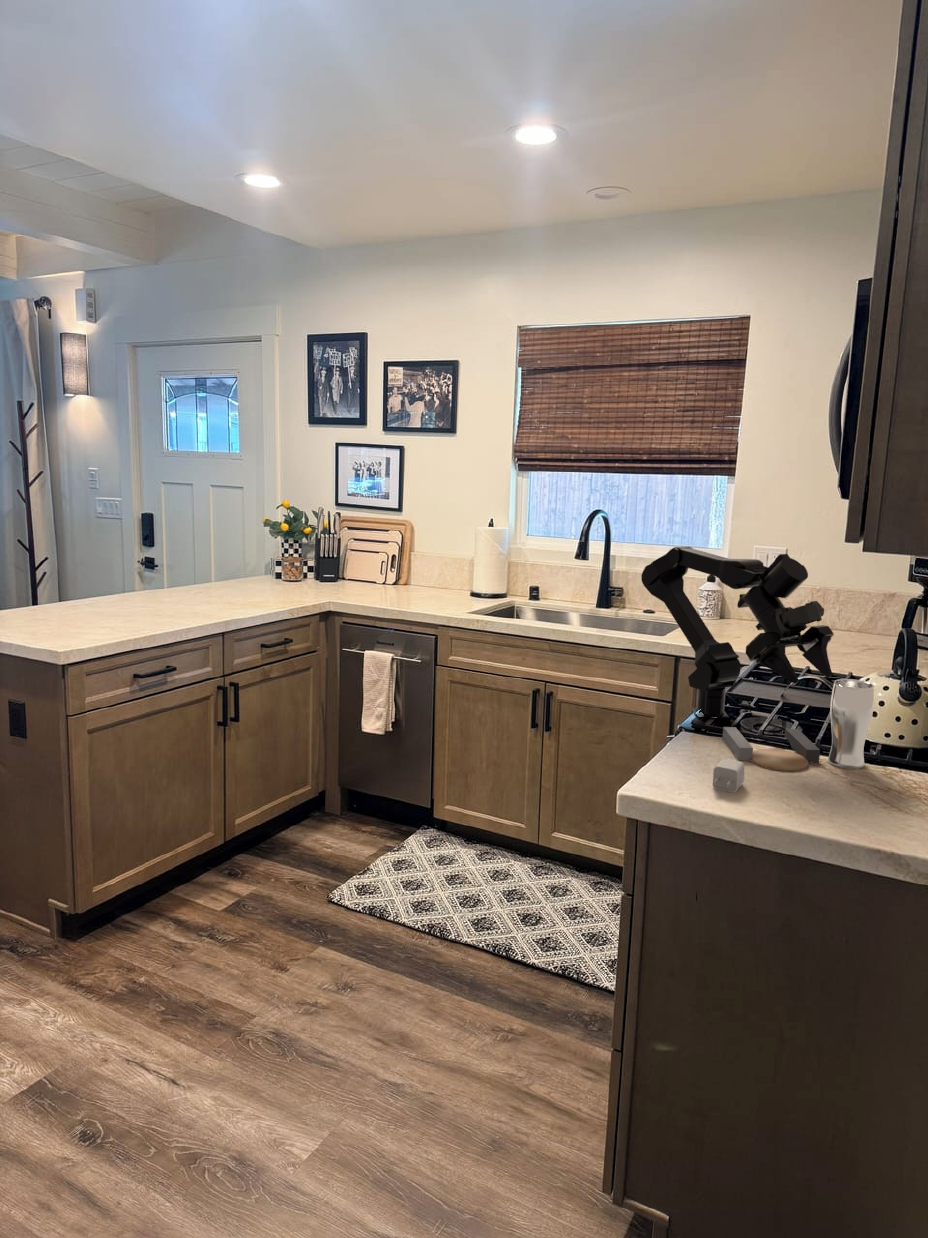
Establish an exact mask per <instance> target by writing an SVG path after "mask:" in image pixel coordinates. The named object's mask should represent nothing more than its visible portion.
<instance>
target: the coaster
mask: <svg viewBox="0 0 928 1238" xmlns="http://www.w3.org/2000/svg"><path fill="white" fill-rule="evenodd" d="M751 762H752V763H753V764H754V765H757V766H759V767H762V768H764V769H769V770H773V771H777V772H778V771H780V772H800V771H803V770H806V769H807V768H808V767H809V762H808V760H807V759H805V758H804V757H803V756H802V755H799V754H797V753H796V752H795V751H794V752H793V751H789V750H786V749H780V748H779V749H776V748H760V749H756V750H753V754H752V757H751Z"/></svg>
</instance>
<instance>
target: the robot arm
mask: <svg viewBox="0 0 928 1238" xmlns="http://www.w3.org/2000/svg"><path fill="white" fill-rule="evenodd" d="M689 569H691V570H694V571H697V572H700V573H703V574H707V575H710V576H714V577H715V578H718V579H719V581H720V582H721V583H722V584H724V585H725V586H726V587H729V588H730V589H733V590H741V589H742V590H744V589H749V590H748V591H747V592H746V593H740V594H739V599H738V601H737V608H738V609H742V608H749V610H750V611H751V613H752V614H753V616H754V618H755V619H756V622H758V623H757V624H756V625H755V628H756V629H757V631H763V632H760V633H758V634H757V635H756V636H755V637H754V638H753V639H752V640H751V641H750V642H749V643H747V645H746V647H745V655H746V657H748V659H749V661H750V662H753V661H754V662H756V663H757V664H760V665H763V666H764V667H766V668H768V669H770V670H771V671H773V672H775V673H776V674H778V675H780V676H781V677H782V678H784V679H785V680H788V681H789V682H791V683H792V684H794V685H795V684H797V683H798V682H799V681H800V680H799V677H798V675H797V673H796V671H795V669H794V668H793V665H792V664H791V662H790V660H789V659H788V657H787V655H786V648H789V647H790V648H791V647H797V648H798V650H799V651H800V652H803V654H802V656H803V657H804V658H805V659H806V660H807V661H808V662H809V663H810V664H811V665H812V666H813V667H814V668H815V669H816V670H817V671H819V672H820V674H822V675H823V676H824V677H826V678H827V679H829V678H831V676H833V673H832V667H831V664H830V660H829V656H828V649H827V648H828V644H829V642H831V640H832V637H833V636H834V635H835V633H834V632H833V630H832V629H831V628H830V626H829V625H825V624H823V625H822V624H821V625H813V626H810V627H809V628H808V626H807V625H808V624H812V623H814V622H820V621H822V617H823V616H824V615H825V608H824V607H823V605H821V603H819V601H818V600H812V601H810V602H806V603H805V604H804V605H800V606H797V607H794V608H793V607H791V606H789V607H787V606H786V607H785V605H784V603H783V602H782V600H781V599H787V598H788V597H790V596H791V595H792V593H794V592H795V591H796V590H797V589H798V588H799V587H800V586H801V585H802V584H803V583H805V581H806V580H807V579H808V577H809V573H808V570H807V568H806V566H804V565H803V564H802V563H800V562H799V561H798V560H796V559H795V558H792V557H790V556H789V554H788V553H780V554H778V555H777V557H775V559H774V560H773V562H772V563H771V564H770V565H769V566H765V565H764V562H763V561H761V560H760V559H757V558H756V559H754V558H753V559H752V558H727V557H724V556H721V555H717V554H714V553H710V552H706V551H702V550H700V549H696V548H693V547H691V546H675V547H673V548H671V549H669V551H668V552H667V553H665V554H664V555H662V556H660V557H659V558H656V559H655V560H653V561H652V562H651V563H649V564H647V565H646V566H645V567H644V568H643V570H642V572H641V582H642V585H643V587H644V588H645V589H646V590H647V591H648V593H649V594H650V595H651V596H653V597H655V598H656V599H658V600H659V601H661V602H662V603H664V605H665V606H666V608H667V610H668V611H669V613H670V614H671V616H672V617H673V619H674V621H675V622H676V624H677V625H678V627H679V628H680V630H681V632H682V634H683V635H684V637H685V638H686V640H687V642H688V643H689V645H690V646H691V648H692V649H693V651H694V665H695V668H696V669H695V670H693V672H691V673H690V675H689V676H688V678H687V679H688V684H689V687H690V688H693V689H697V694H696V706H693V707H692V708H691V711H692V712H693V713H694V714H695V713H696V712H697V711H698V710H700V709H701V710H700V711H699V713H700V712H702V713H703V714H704V716H706V717H720V718H719V719H723V718H728V719H729V715H728V714H727V712H726V711H725V702H726V689H727V688H733V687H735V684H736V683H737V679H738V678H739V677H740V673H741V668H742V665H741V661H740V655H738V654H737V653H736V652H735V649H734V648H733V646H732V645H731V643H730V642H728V641H727V642H719V641H717V640H716V639H715V638H714V636H713V634H712V633H711V631H710V630H709V628H708V627H707V625H706V623H705V622H704V620H703V619H702V618H701V615H700V614H699V613H698V611H697V610H696V608H695V607H694V605H693V604H692V601H690V599H689V597H688V596H687V594H686V593H685V592H684V591H685V590H684V585H685V584H684V578H683V577H685V575H686V574H688V571H689ZM807 628H808V629H807ZM806 629H807V630H806ZM803 631H805V632H803ZM802 632H803V634H802ZM696 715H697V714H695V716H696Z"/></svg>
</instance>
